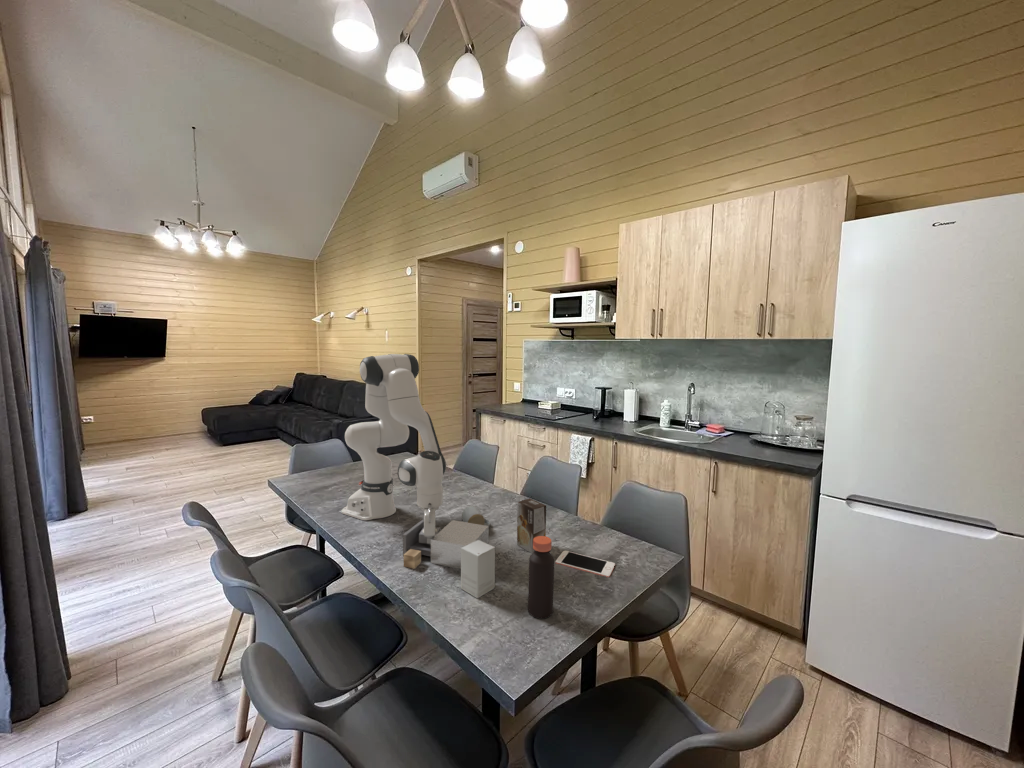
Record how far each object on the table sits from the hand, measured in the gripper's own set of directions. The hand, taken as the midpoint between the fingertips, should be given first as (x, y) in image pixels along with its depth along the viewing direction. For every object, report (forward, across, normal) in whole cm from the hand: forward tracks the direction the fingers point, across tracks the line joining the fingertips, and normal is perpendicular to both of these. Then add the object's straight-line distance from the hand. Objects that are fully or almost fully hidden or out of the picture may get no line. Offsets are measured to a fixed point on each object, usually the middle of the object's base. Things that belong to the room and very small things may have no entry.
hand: (429, 537), depth 144 cm
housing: (+4, -6, -10) cm, 13 cm away
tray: (+4, 0, -1) cm, 4 cm away
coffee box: (+4, -4, -36) cm, 36 cm away
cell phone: (+5, -18, -51) cm, 54 cm away
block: (+4, -10, +5) cm, 12 cm away
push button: (+1, 0, 0) cm, 1 cm away
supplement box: (+4, -26, -14) cm, 30 cm away
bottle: (+4, -39, -30) cm, 49 cm away
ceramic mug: (+5, +15, -18) cm, 24 cm away
